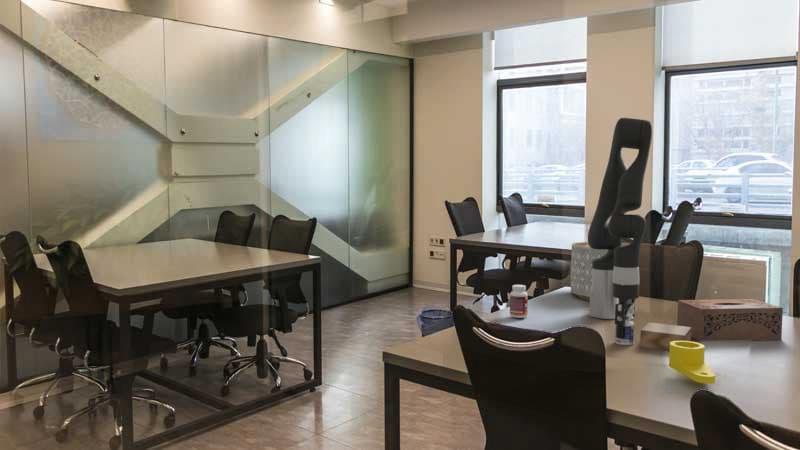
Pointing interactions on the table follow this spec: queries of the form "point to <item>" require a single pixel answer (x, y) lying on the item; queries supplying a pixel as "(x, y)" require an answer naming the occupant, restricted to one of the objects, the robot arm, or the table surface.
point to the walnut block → (663, 335)
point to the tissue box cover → (731, 319)
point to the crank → (690, 361)
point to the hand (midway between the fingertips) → (624, 335)
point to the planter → (583, 267)
